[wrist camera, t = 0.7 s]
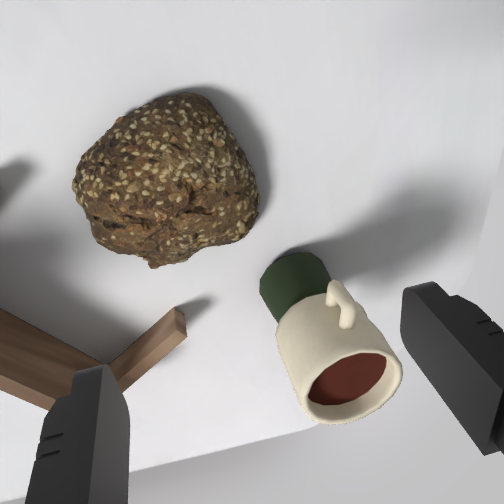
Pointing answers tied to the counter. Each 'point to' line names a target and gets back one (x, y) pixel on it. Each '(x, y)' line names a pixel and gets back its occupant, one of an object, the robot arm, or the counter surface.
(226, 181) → the bread roll
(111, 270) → the counter surface
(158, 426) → the counter surface
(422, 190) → the counter surface
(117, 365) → the u-shaped wooden frame
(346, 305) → the character mug
